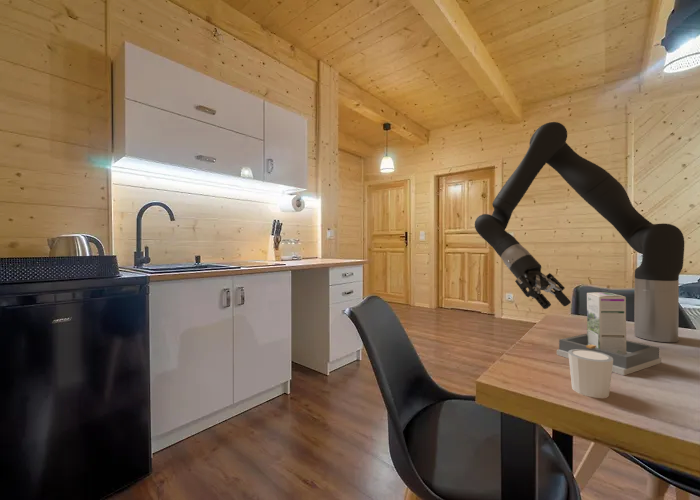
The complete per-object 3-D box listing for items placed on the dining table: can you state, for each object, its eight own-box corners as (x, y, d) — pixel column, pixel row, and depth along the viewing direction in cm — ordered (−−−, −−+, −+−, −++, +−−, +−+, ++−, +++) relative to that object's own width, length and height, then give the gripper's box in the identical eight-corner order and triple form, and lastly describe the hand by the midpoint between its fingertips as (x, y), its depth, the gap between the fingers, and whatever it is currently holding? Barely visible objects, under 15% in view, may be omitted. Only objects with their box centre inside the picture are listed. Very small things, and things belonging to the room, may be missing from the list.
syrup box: (627, 358, 73) (628, 296, 73) (598, 356, 74) (599, 295, 74) (612, 350, 79) (612, 292, 78) (585, 349, 80) (585, 291, 79)
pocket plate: (593, 345, 86) (593, 330, 86) (661, 362, 73) (661, 345, 73) (556, 354, 79) (556, 338, 79) (623, 375, 67) (623, 356, 67)
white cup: (559, 383, 63) (559, 348, 63) (594, 383, 63) (594, 348, 63) (584, 399, 57) (584, 361, 56) (623, 400, 56) (623, 361, 56)
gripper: (511, 254, 91) (551, 300, 81) (543, 253, 97) (584, 295, 87) (496, 271, 96) (531, 316, 86) (527, 269, 102) (564, 311, 92)
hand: (558, 305), depth 87 cm, fingers open, 8 cm apart
